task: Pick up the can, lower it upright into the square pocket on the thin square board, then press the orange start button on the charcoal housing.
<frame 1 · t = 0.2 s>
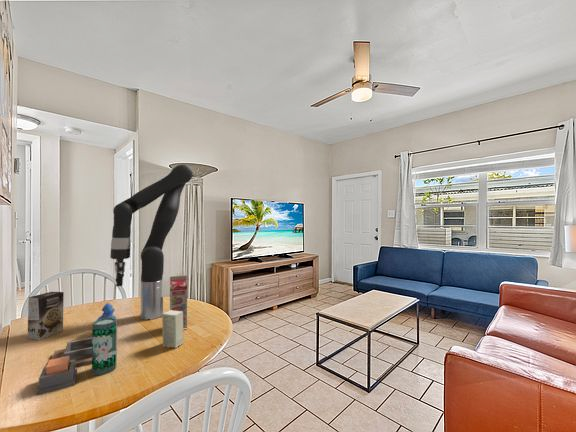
hand: (118, 283, 122), 17 cm above the table, tool pointing down, fingers open, 8 cm apart
coffee box: (46, 335, 110), on the table
can: (104, 370, 85), on the table
skincare box: (172, 345, 102), on the table
juice carton: (178, 327, 118), on the table
button housing: (58, 382, 78), on the table
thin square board: (83, 356, 93), on the table
start button: (58, 366, 79), point 5 cm above the table, slide at 0.0 cm
grapes: (105, 334, 110), on the table
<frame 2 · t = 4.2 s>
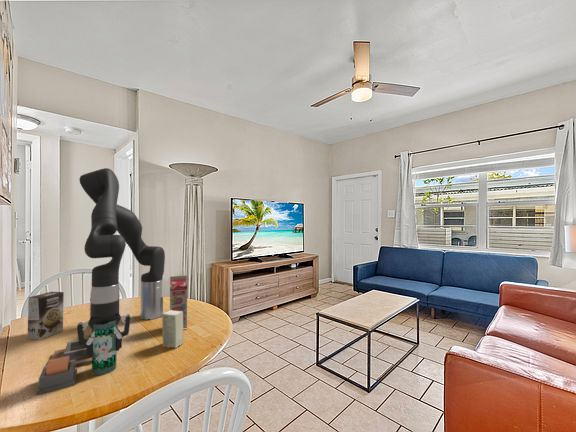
hand: (104, 352, 85), 5 cm above the table, tool pointing down, fingers closed on can, 6 cm apart
can: (104, 370, 85), on the table, touching gripper
everything else where it was.
when the fingers open (8 cm above the table, at t = 10.5 s): can drops 1 cm, resting on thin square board.
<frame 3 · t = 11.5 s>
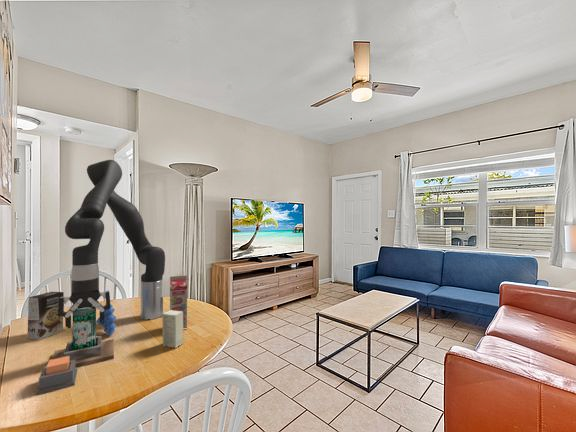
hand: (85, 324, 93), 11 cm above the table, tool pointing down, fingers open, 8 cm apart
can: (84, 353, 93), point 1 cm above the table, touching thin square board
everything else where it was.
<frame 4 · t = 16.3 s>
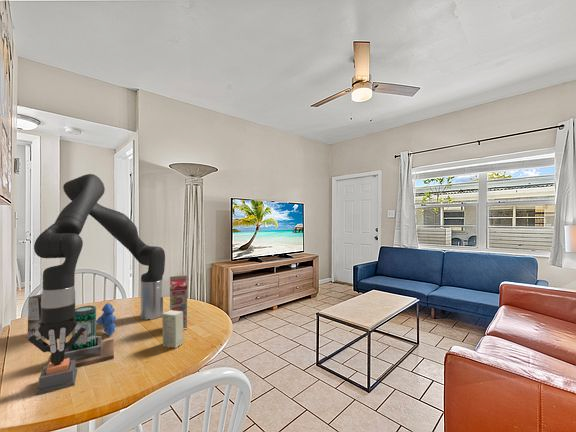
hand: (57, 363, 78), 5 cm above the table, tool pointing down, fingers closed
start button: (58, 368, 79), point 4 cm above the table, slide at 0.6 cm, touching gripper
everything else where it was.
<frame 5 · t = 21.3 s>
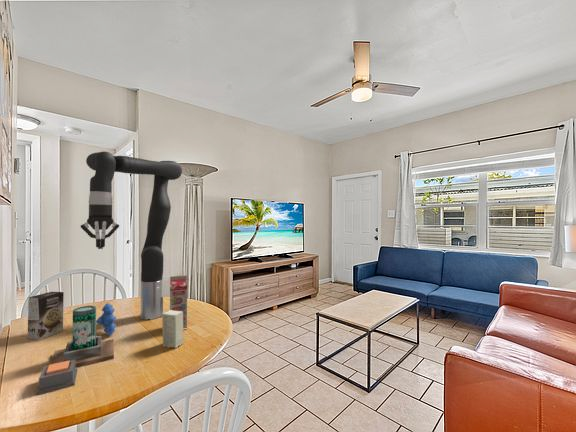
hand: (100, 248, 106), 35 cm above the table, tool pointing down, fingers closed
start button: (58, 371, 78), point 3 cm above the table, slide at 1.4 cm
everything else where it was.
at the end: can 0.1 cm off-centre on the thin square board, point 1.0 cm above the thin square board's base; can tilted 0°; start button slide at 1.4 cm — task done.
